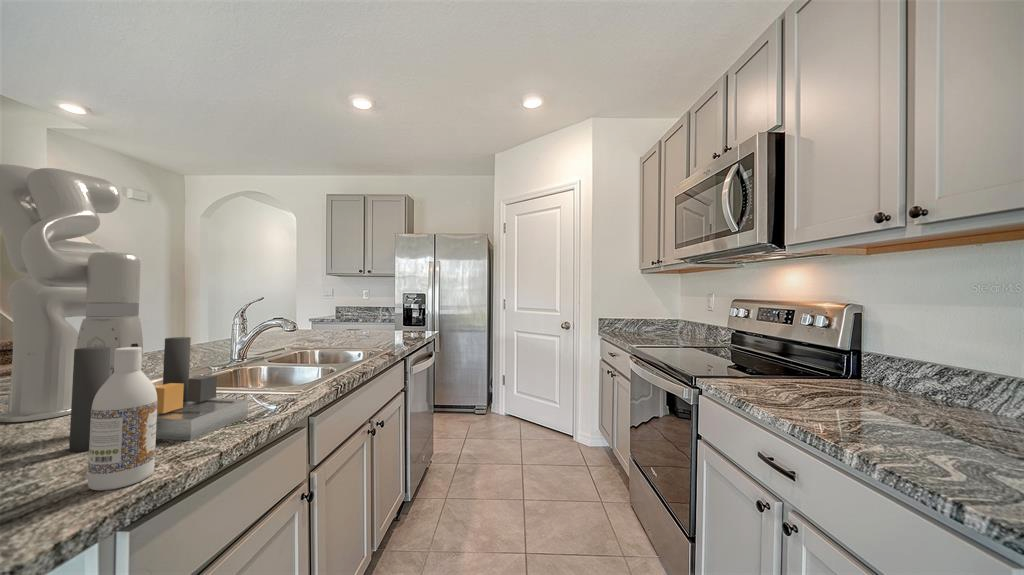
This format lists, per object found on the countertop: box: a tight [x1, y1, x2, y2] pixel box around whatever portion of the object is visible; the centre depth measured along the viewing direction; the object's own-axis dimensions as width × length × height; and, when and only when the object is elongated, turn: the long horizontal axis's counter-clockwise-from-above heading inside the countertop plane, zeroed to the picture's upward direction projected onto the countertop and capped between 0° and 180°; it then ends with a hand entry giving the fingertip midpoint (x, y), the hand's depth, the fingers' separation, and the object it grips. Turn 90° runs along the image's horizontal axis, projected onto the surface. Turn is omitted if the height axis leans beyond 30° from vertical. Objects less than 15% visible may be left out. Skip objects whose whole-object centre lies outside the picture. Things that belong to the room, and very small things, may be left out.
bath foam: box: [87, 347, 158, 491], centre depth 56 cm, size 7×7×20 cm
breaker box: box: [156, 397, 249, 441], centre depth 78 cm, size 12×14×4 cm
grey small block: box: [187, 374, 218, 402], centre depth 83 cm, size 3×4×5 cm
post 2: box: [162, 336, 192, 402], centre depth 84 cm, size 4×4×18 cm
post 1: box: [68, 347, 111, 453], centre depth 67 cm, size 4×4×18 cm
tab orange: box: [154, 383, 184, 413], centre depth 75 cm, size 3×4×5 cm
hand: (109, 400), depth 76 cm, fingers closed
